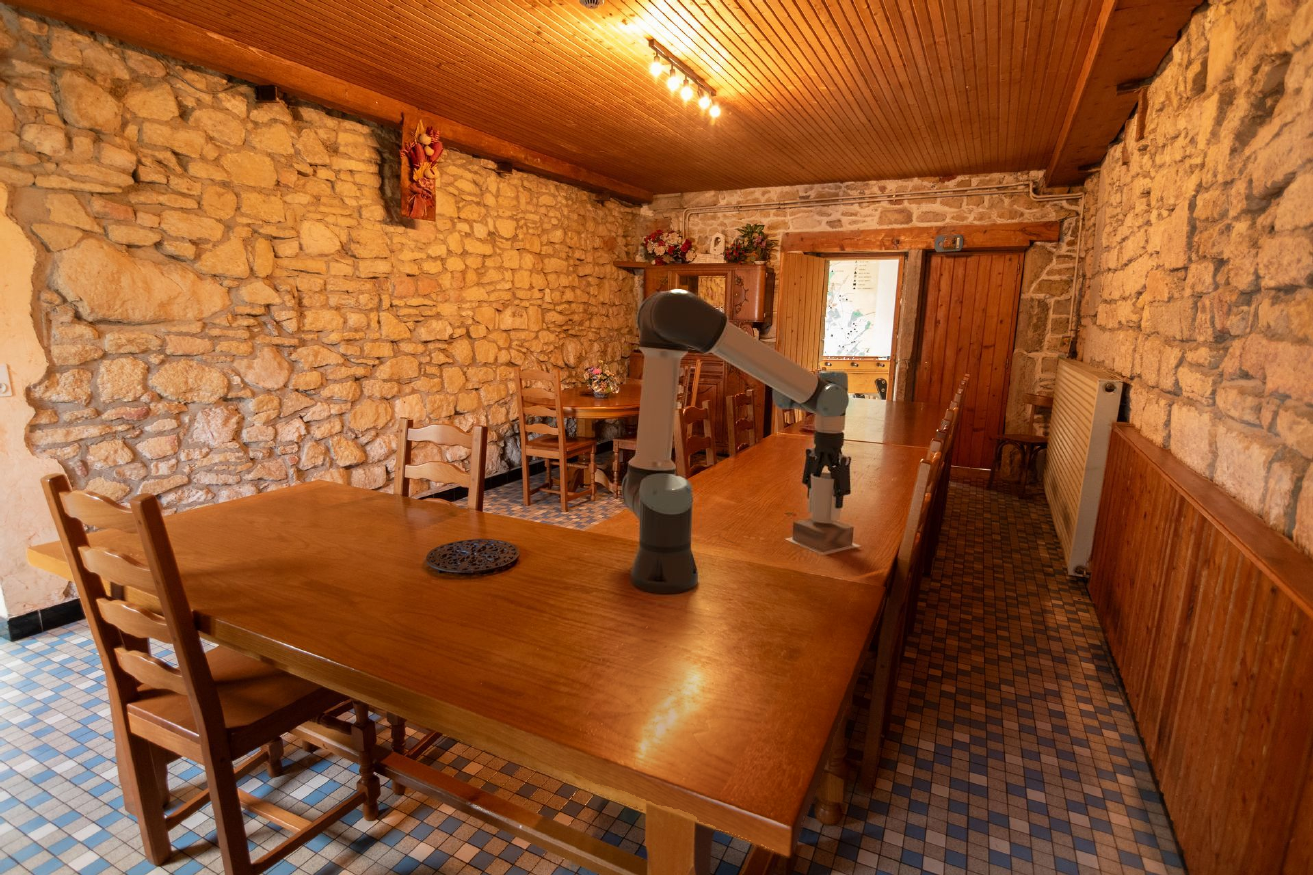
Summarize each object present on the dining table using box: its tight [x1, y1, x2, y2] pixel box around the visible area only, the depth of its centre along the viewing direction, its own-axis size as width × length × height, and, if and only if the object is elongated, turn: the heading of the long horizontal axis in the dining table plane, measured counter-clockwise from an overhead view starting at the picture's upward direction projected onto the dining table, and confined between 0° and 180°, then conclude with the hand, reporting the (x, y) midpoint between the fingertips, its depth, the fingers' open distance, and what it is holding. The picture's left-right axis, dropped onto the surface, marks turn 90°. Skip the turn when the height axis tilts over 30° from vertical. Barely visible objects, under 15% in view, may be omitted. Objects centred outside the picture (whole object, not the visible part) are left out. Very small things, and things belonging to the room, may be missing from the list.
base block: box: [792, 517, 854, 552], centre depth 164 cm, size 11×11×5 cm
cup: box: [810, 471, 840, 523], centre depth 163 cm, size 8×8×12 cm
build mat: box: [785, 536, 861, 556], centre depth 165 cm, size 14×14×1 cm
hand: (823, 515), depth 163 cm, fingers closed on cup, 7 cm apart
